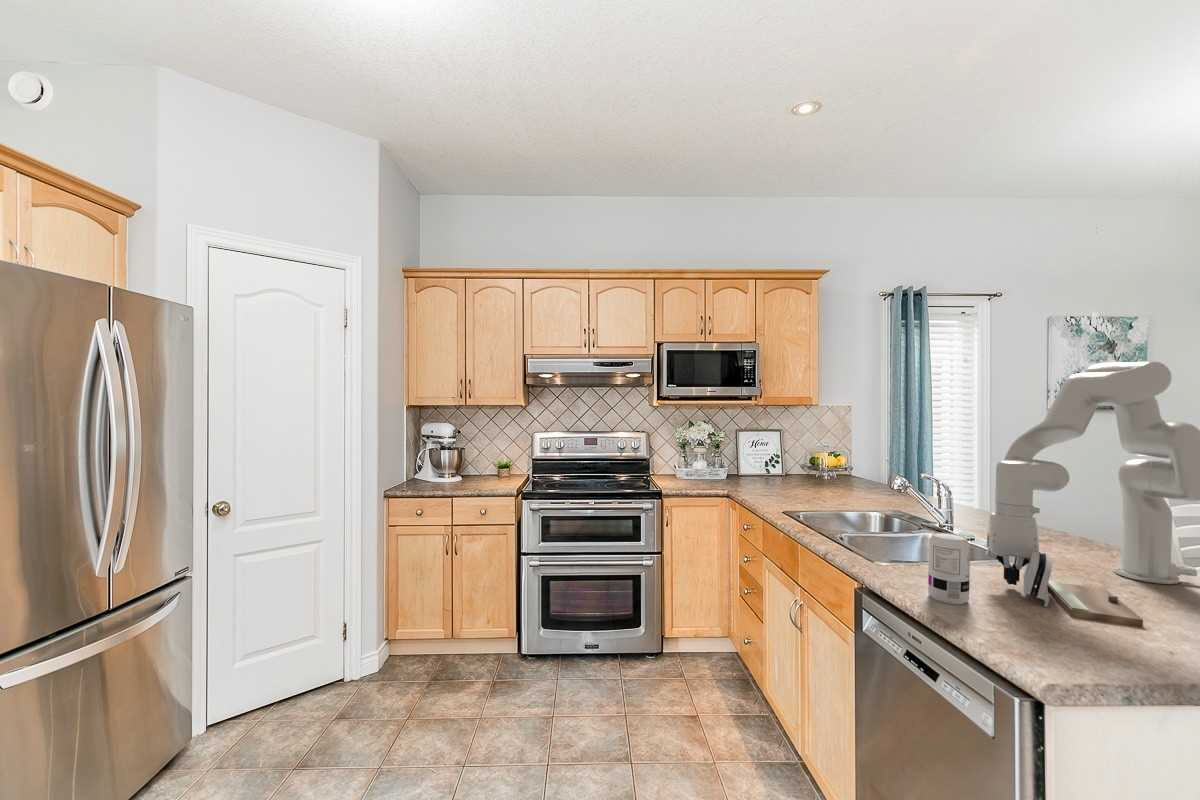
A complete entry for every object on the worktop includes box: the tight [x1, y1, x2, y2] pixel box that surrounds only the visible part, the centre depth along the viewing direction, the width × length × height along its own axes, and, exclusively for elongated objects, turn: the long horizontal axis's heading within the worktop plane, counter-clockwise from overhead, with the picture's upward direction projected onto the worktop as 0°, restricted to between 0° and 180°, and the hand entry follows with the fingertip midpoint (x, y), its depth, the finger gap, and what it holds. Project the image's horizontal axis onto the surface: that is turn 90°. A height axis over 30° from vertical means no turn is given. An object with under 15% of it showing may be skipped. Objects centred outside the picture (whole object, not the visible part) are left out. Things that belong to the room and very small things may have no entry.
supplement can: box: [927, 532, 971, 606], centre depth 132 cm, size 8×8×15 cm
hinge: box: [1022, 551, 1053, 608], centre depth 134 cm, size 17×5×10 cm, turn 143°
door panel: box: [1047, 580, 1144, 628], centre depth 129 cm, size 12×21×3 cm, turn 154°
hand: (1011, 583), depth 139 cm, fingers closed
